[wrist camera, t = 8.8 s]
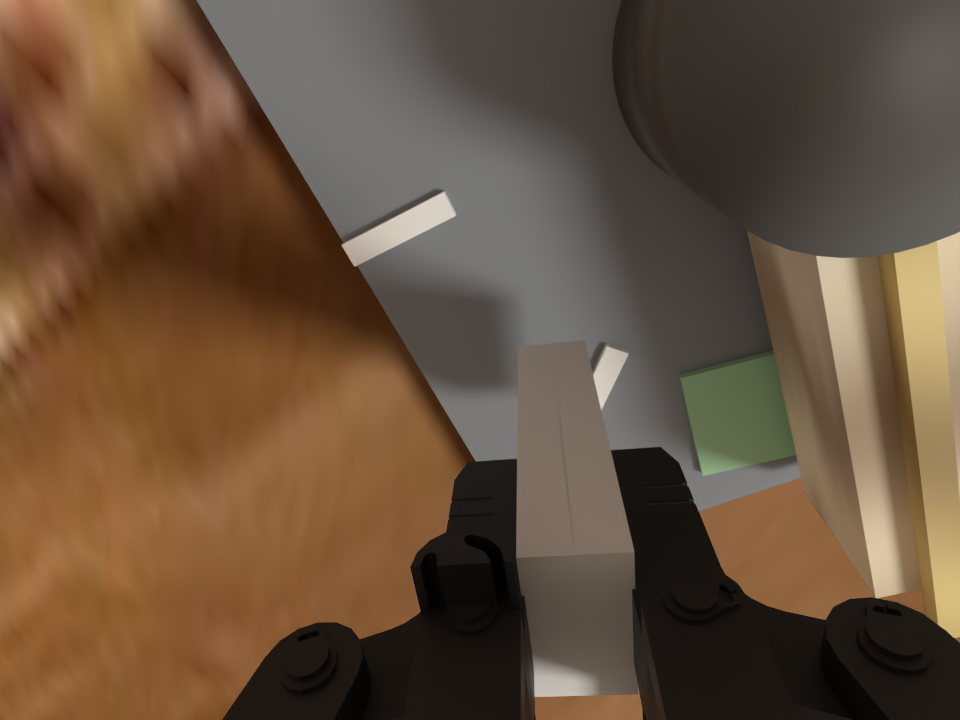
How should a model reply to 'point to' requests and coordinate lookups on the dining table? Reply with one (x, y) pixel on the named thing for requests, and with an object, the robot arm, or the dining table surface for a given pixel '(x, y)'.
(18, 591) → the dining table surface
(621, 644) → the robot arm
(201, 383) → the dining table surface
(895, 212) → the dial lever
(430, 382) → the gauge board
